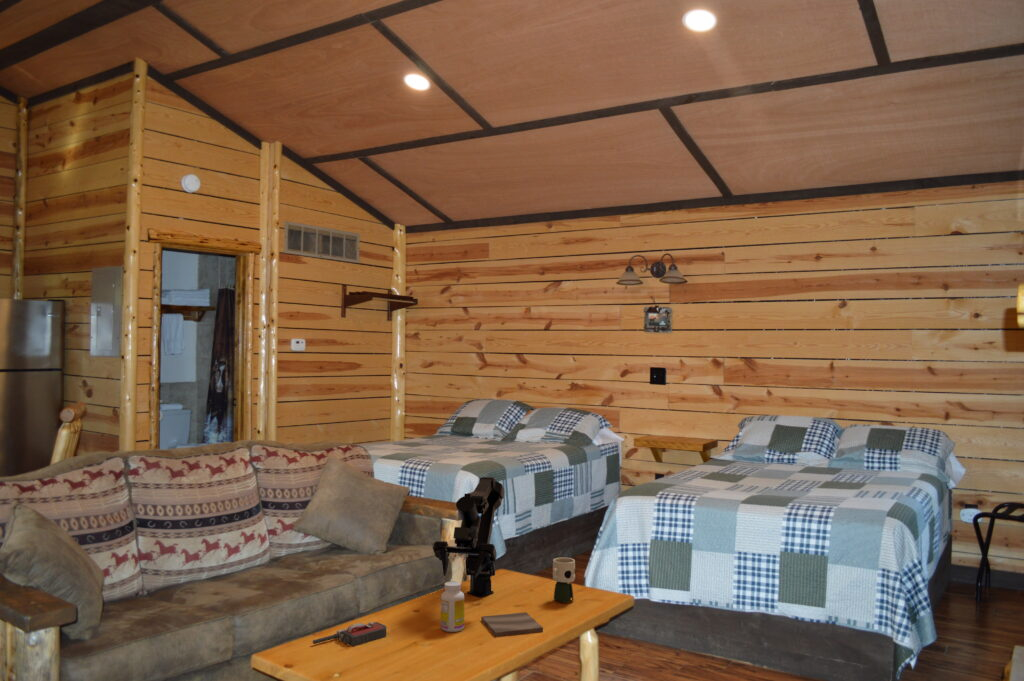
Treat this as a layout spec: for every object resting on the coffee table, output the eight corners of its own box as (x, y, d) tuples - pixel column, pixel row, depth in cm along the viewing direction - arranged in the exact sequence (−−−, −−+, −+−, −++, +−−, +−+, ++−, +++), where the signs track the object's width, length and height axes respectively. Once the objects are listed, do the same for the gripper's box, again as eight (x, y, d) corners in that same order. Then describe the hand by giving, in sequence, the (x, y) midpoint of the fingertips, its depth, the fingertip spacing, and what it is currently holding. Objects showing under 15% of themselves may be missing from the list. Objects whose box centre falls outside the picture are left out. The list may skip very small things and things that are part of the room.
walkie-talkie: (373, 628, 227) (310, 646, 213) (373, 613, 227) (310, 629, 213) (391, 636, 221) (328, 655, 207) (391, 620, 221) (328, 638, 207)
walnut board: (481, 620, 234) (481, 616, 234) (526, 616, 238) (526, 612, 238) (495, 636, 221) (495, 632, 221) (542, 631, 225) (542, 627, 225)
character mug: (562, 607, 247) (562, 565, 247) (544, 602, 252) (544, 561, 252) (582, 599, 255) (583, 558, 256) (564, 595, 260) (565, 555, 260)
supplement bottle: (465, 625, 230) (466, 580, 230) (462, 633, 223) (462, 587, 223) (443, 624, 230) (443, 579, 231) (438, 632, 224) (439, 586, 224)
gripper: (434, 514, 241) (423, 559, 230) (495, 517, 238) (486, 563, 227) (441, 534, 249) (430, 579, 238) (500, 537, 245) (492, 583, 234)
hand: (459, 576), depth 234 cm, fingers open, 9 cm apart
